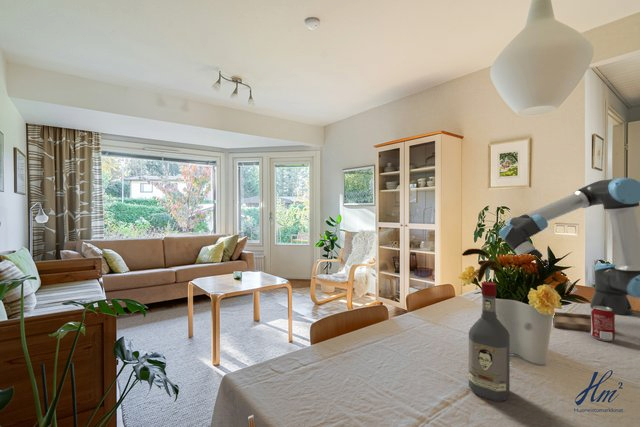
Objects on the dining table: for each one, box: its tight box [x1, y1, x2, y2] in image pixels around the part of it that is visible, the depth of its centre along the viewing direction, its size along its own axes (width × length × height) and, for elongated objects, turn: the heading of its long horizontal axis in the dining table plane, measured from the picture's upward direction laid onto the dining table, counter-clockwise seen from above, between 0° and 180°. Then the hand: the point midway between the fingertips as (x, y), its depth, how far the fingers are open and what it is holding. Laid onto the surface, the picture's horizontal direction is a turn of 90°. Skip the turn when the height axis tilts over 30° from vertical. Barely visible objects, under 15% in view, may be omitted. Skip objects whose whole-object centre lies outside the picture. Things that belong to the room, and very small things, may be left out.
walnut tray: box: [552, 311, 591, 332], centre depth 133 cm, size 20×15×2 cm
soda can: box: [590, 306, 616, 342], centre depth 118 cm, size 7×7×12 cm
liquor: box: [468, 281, 511, 402], centre depth 84 cm, size 9×9×30 cm
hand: (568, 293), depth 127 cm, fingers open, 13 cm apart
